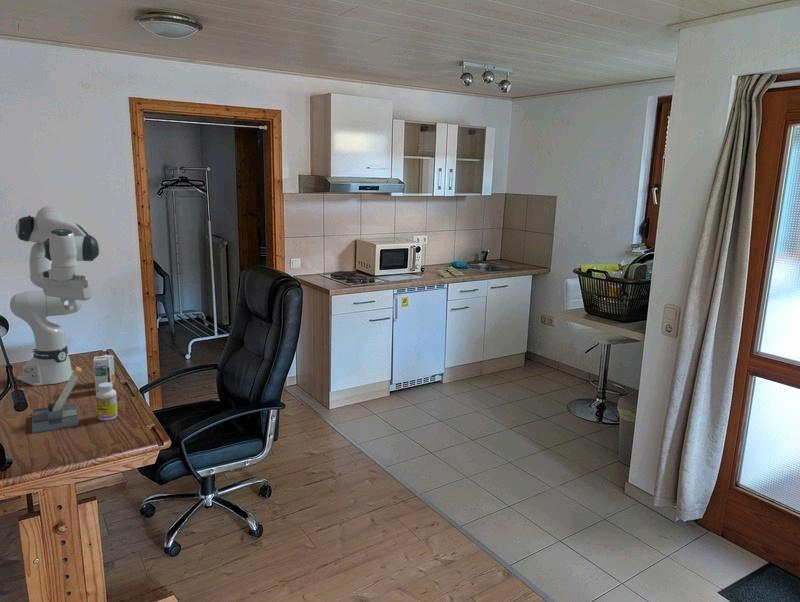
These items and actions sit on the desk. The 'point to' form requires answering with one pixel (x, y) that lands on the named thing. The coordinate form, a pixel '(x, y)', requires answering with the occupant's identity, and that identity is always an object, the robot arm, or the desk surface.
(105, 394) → the supplement bottle
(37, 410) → the pair of grey rods
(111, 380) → the skincare box
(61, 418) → the breaker panel
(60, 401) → the lever
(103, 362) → the syrup box
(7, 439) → the desk surface
